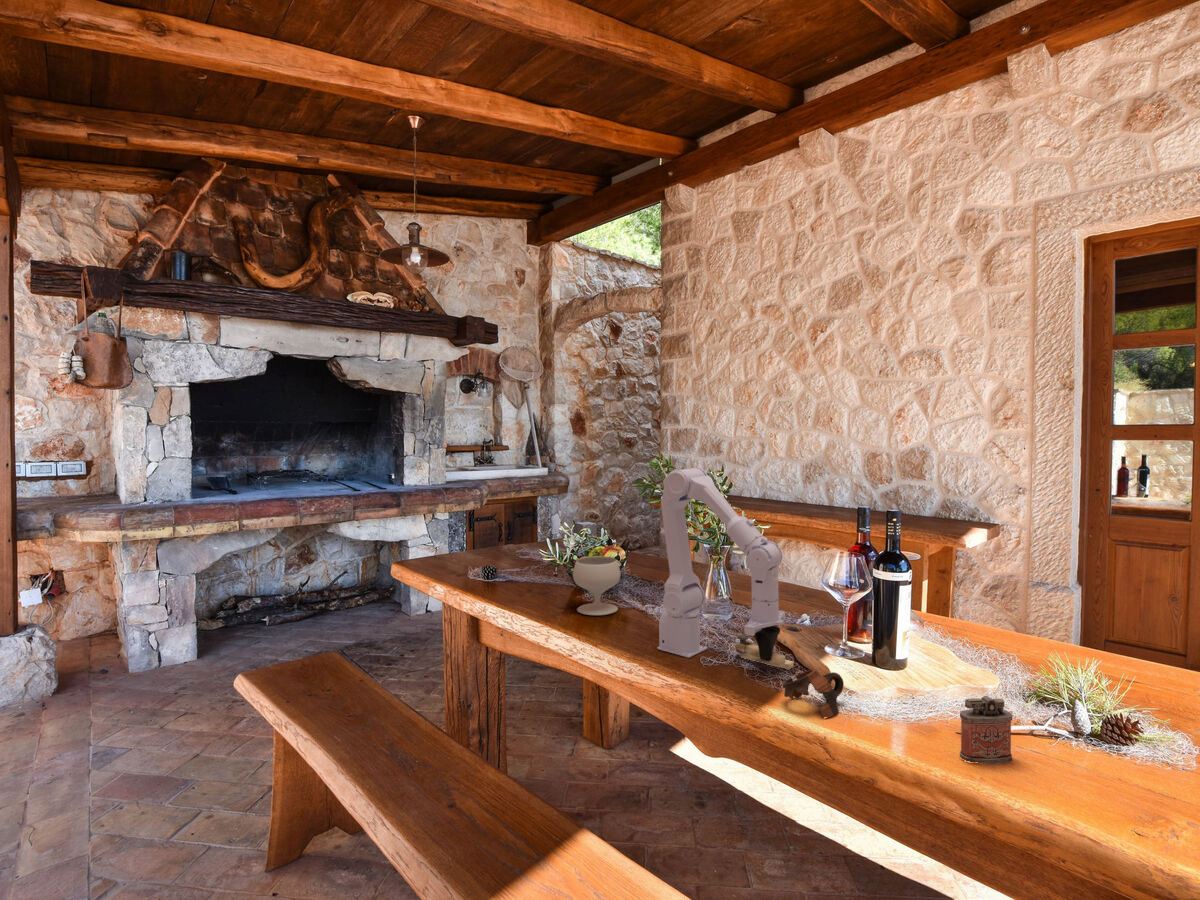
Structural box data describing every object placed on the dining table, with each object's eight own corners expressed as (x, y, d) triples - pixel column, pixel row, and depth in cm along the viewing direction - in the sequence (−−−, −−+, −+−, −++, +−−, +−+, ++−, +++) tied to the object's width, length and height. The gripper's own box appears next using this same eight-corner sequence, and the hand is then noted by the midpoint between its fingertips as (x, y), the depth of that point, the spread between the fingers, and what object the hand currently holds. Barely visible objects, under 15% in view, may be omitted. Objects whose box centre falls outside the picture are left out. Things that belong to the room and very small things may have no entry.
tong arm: (735, 648, 151) (735, 642, 151) (747, 645, 153) (747, 640, 153) (775, 665, 140) (775, 659, 140) (787, 662, 142) (787, 656, 142)
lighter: (1003, 752, 107) (1003, 692, 106) (1017, 763, 103) (1017, 701, 103) (955, 754, 106) (955, 694, 106) (967, 765, 103) (967, 703, 103)
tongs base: (733, 657, 152) (733, 636, 151) (740, 653, 154) (740, 633, 154) (787, 671, 142) (787, 649, 142) (794, 667, 145) (794, 646, 145)
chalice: (573, 618, 184) (572, 566, 183) (573, 604, 198) (572, 555, 197) (622, 616, 185) (621, 564, 184) (619, 603, 199) (618, 554, 198)
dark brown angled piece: (816, 727, 118) (793, 683, 120) (790, 729, 126) (769, 687, 128) (864, 698, 122) (841, 656, 125) (835, 702, 131) (815, 662, 133)
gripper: (765, 609, 134) (766, 673, 135) (797, 594, 145) (798, 654, 145) (735, 603, 139) (736, 665, 140) (768, 589, 150) (769, 647, 150)
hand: (766, 659), depth 143 cm, fingers closed, pressing on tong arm
